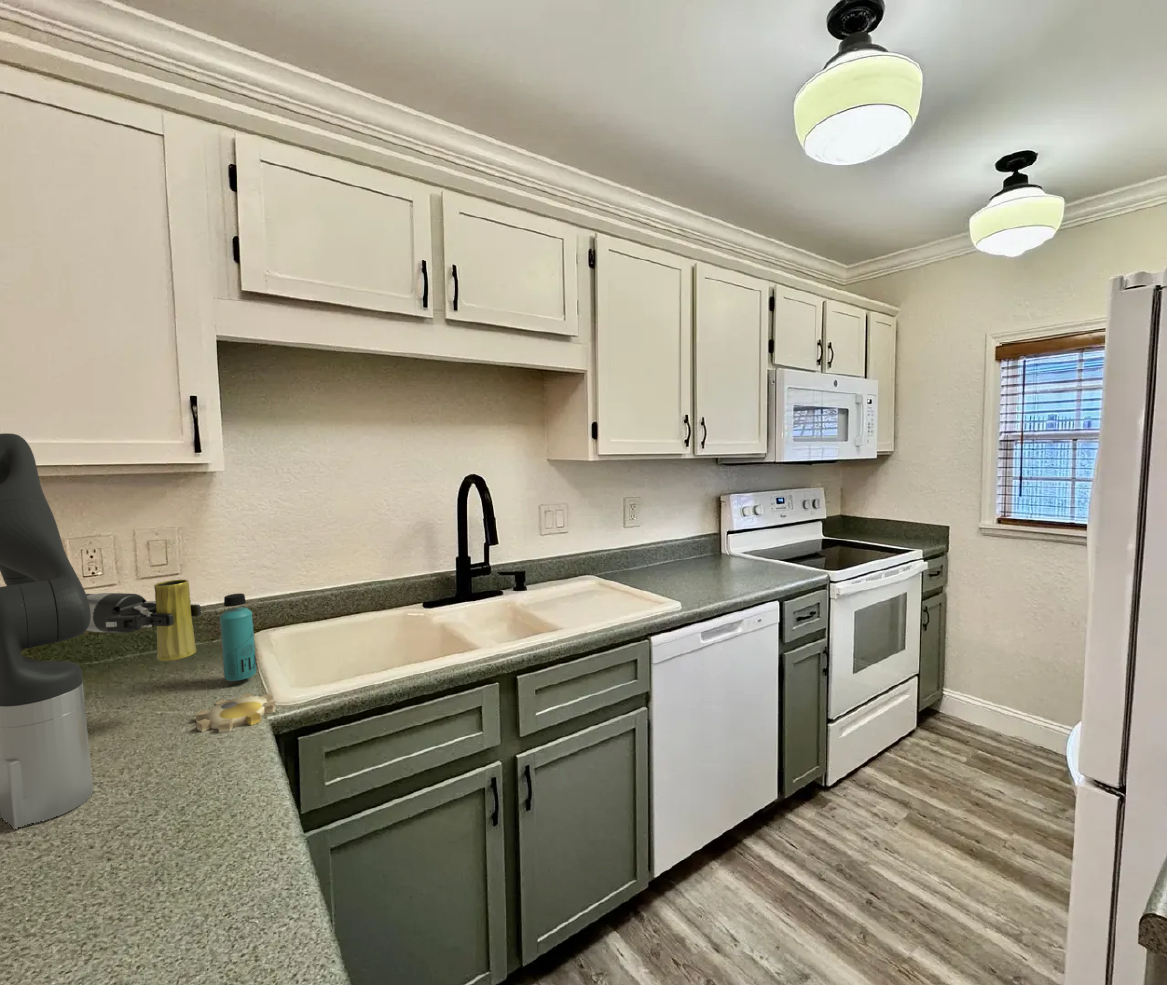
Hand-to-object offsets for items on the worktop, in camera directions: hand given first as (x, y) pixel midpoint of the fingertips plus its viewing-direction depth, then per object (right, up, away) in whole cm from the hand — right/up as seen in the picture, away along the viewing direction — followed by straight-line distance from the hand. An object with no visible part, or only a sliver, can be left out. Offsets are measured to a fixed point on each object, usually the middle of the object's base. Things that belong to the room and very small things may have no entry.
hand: (185, 615), depth 105 cm
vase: (-2, -8, +1) cm, 9 cm away
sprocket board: (+8, -20, +3) cm, 22 cm away
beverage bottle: (-1, -20, +19) cm, 27 cm away
